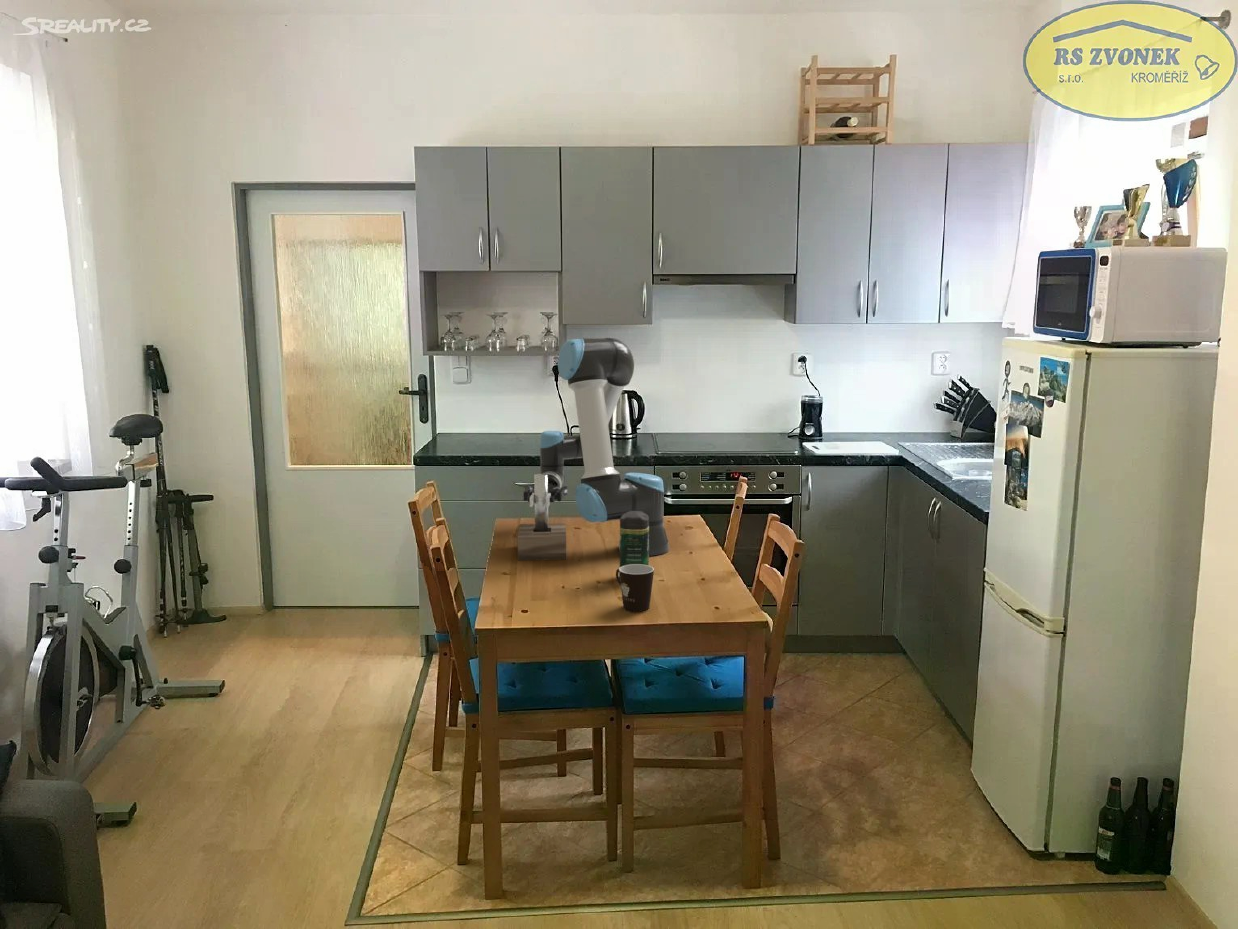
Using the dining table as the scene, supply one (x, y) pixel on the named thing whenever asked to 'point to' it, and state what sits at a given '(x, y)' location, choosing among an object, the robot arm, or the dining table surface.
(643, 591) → the coffee mug
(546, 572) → the dining table surface
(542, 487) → the steel pin
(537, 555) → the socket block
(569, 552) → the dining table surface
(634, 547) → the coffee jar
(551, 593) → the dining table surface
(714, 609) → the dining table surface
